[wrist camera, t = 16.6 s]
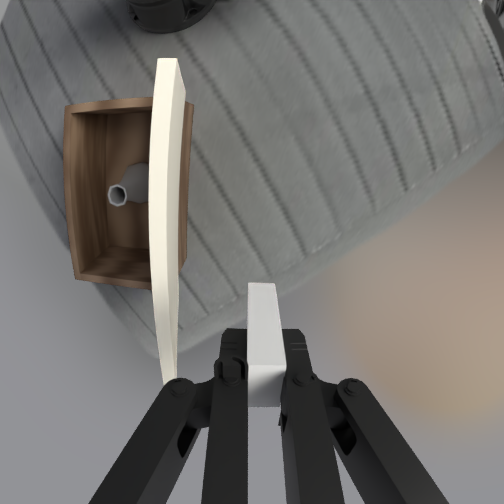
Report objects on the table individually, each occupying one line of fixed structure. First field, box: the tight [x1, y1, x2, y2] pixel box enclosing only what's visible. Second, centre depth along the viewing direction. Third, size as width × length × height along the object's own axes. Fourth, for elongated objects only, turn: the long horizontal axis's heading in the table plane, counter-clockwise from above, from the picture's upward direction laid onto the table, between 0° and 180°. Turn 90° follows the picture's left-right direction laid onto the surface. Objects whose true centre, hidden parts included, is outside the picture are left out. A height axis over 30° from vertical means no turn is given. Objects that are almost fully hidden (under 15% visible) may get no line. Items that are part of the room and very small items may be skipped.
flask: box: [107, 162, 149, 207], centre depth 41 cm, size 7×7×10 cm
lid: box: [149, 58, 186, 385], centre depth 28 cm, size 17×28×1 cm
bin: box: [63, 97, 194, 290], centre depth 40 cm, size 16×26×12 cm, turn 174°
